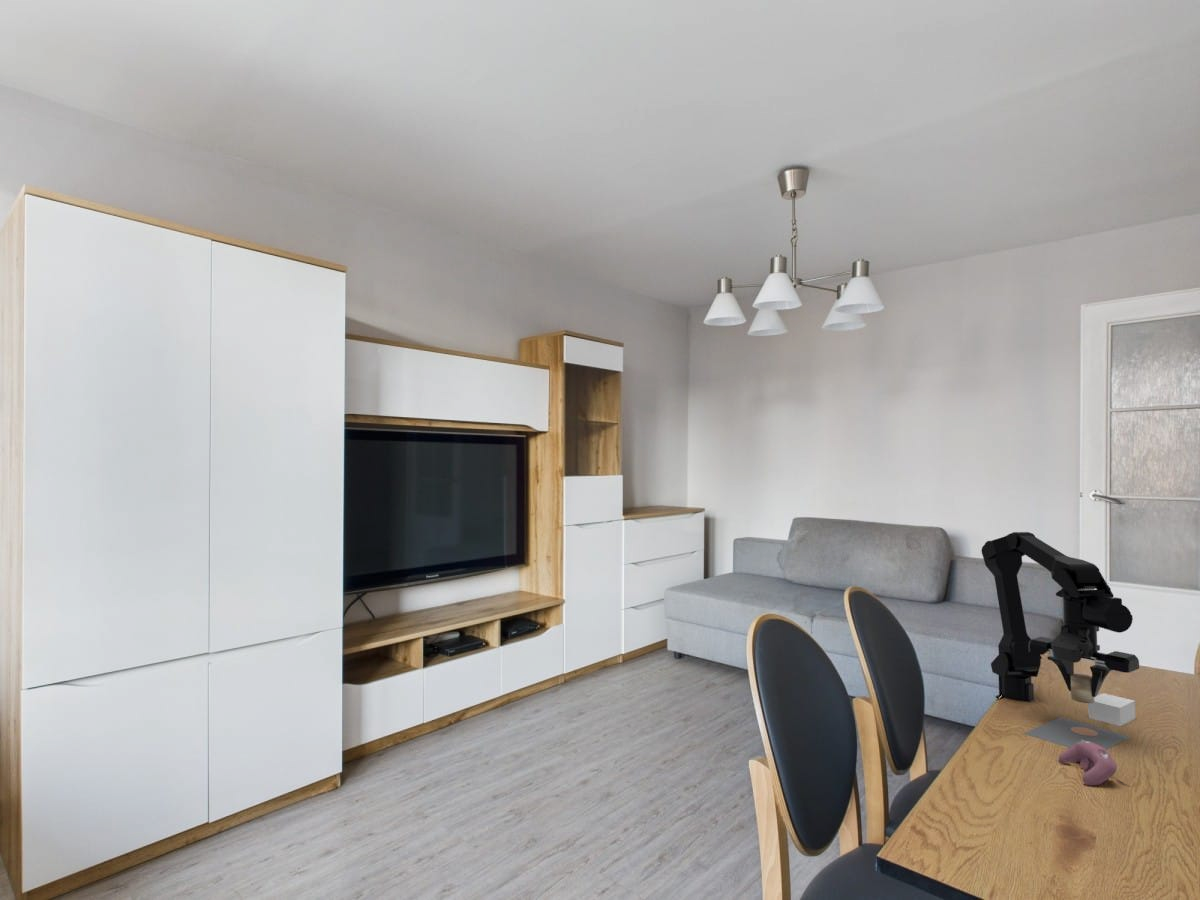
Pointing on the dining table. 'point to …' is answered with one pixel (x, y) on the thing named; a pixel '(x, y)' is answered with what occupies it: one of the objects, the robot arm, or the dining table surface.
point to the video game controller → (1090, 761)
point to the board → (1075, 733)
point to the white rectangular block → (1112, 709)
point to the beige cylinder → (1081, 688)
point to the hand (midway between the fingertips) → (1082, 693)
